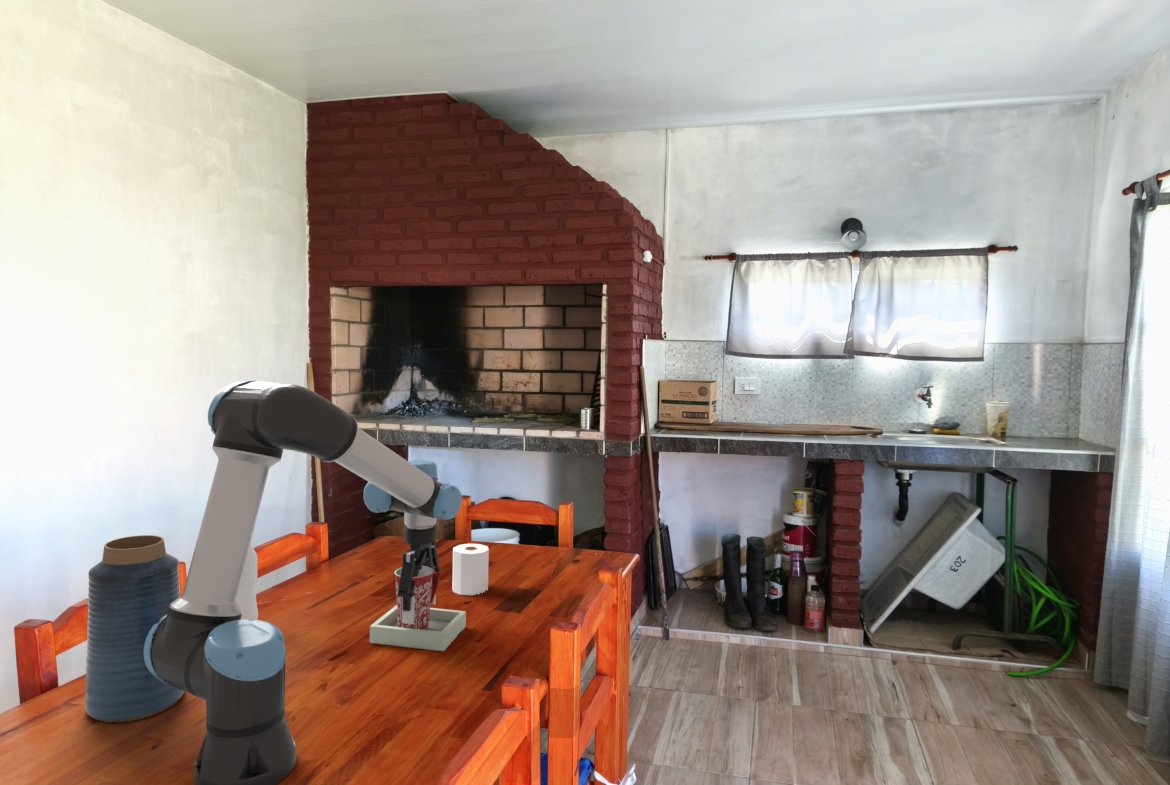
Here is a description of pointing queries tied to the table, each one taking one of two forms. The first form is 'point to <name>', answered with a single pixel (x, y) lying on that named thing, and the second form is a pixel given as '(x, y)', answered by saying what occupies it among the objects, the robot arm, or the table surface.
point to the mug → (419, 597)
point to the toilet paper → (470, 569)
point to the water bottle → (249, 587)
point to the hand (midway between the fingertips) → (419, 613)
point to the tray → (419, 630)
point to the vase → (128, 628)
